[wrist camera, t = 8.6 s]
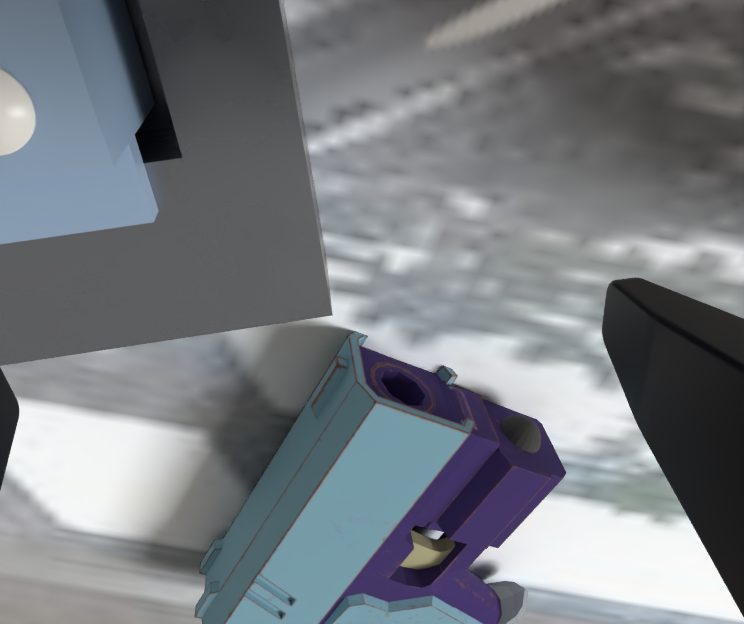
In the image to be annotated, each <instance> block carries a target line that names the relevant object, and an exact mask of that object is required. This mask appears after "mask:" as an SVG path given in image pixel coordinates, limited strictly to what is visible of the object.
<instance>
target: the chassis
mask: <svg viewBox="0 0 744 624" xmlns="http://www.w3.org/2000/svg"><path fill="white" fill-rule="evenodd" d="M125 2H126V6H127V9H128V13H129V16H130V20H131V23H132V27H133V30H134V34H135V37H136V40H137V44H138V47H139V51H140V54H141V58H142V61H143V65H144V68H145V72H146V75H147V79H148V82H149V85H150V89H151V92H152V96H153V99H154V103H155V105H154V106H153V108H152V109H151V111H150V112H149V114H148V115H147V117H146V118H145V120H144V121H143V123H142V124H141V126H140V127H139V129H138V130H137V132H136V133H135V138H136V141H137V144H138V147H139V150H140V154H141V157H142V160H143V163H144V166H145V169H146V173H147V176H148V179H149V182H150V185H151V188H152V192H153V195H154V198H155V201H156V204H157V208H158V213H157V216H156V218H155V221H154V222H152V223H145V224H138V225H131V226H124V227H117V228H111V229H104V230H97V231H90V232H83V233H76V234H69V235H62V236H55V237H48V238H41V239H34V240H27V241H20V242H13V243H6V244H0V366H1V365H8V364H14V363H21V362H27V361H34V360H41V359H47V358H54V357H60V356H67V355H73V354H80V353H87V352H93V351H100V350H106V349H113V348H120V347H126V346H133V345H139V344H146V343H153V342H159V341H166V340H172V339H179V338H185V337H192V336H199V335H205V334H212V333H218V332H225V331H232V330H238V329H245V328H251V327H258V326H265V325H271V324H278V323H284V322H291V321H298V320H304V319H311V318H317V317H324V316H330V315H332V306H331V297H330V288H329V278H328V269H327V260H326V254H325V248H324V242H323V236H322V230H321V224H320V218H319V212H318V206H317V200H316V194H315V188H314V183H313V177H312V171H311V165H310V159H309V153H308V147H307V141H306V135H305V129H304V123H303V117H302V111H301V105H300V99H299V93H298V87H297V81H296V75H295V69H294V63H293V57H292V51H291V45H290V39H289V33H288V27H287V21H286V15H285V9H284V3H283V0H125Z"/></svg>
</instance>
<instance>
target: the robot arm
mask: <svg viewBox="0 0 744 624" xmlns="http://www.w3.org/2000/svg"><path fill="white" fill-rule="evenodd" d="M602 335H603V340H604V344H605V346H606V349H607V351H608V354H609V356H610V359H611V361H612V364H613V366H614V369H615V371H616V374H617V376H618V378H619V381H620V383H621V386H622V388H623V391H624V393H625V396H626V398H627V401H628V403H629V406H630V408H631V411H632V413H633V415H634V418H635V420H636V422H637V424H638V427H639V428H640V430H641V432H642V434H643V436H644V438H645V440H646V442H647V444H648V445H649V447H650V449H651V451H652V453H653V454H654V456H655V458H656V460H657V462H658V463H659V465H660V467H661V469H662V471H663V473H664V474H665V476H666V478H667V480H668V482H669V483H670V485H671V487H672V489H673V491H674V492H675V494H676V496H677V498H678V500H679V501H680V503H681V505H682V507H683V509H684V510H685V512H686V514H687V516H688V518H689V519H690V521H691V523H692V525H693V527H694V528H695V530H696V532H697V534H698V536H699V538H700V539H701V541H702V543H703V545H704V547H705V548H706V550H707V552H708V554H709V556H710V557H711V559H712V561H713V563H714V565H715V566H716V568H717V570H718V572H719V574H720V575H721V577H722V579H723V581H724V583H725V584H726V586H727V588H728V590H729V592H730V593H731V595H732V597H733V599H734V601H735V603H736V604H737V606H738V608H739V610H740V612H741V613H742V615H743V617H744V319H743V318H741V317H738V316H735V315H733V314H730V313H728V312H725V311H723V310H720V309H718V308H715V307H713V306H710V305H708V304H705V303H702V302H700V301H697V300H695V299H692V298H690V297H687V296H685V295H682V294H680V293H677V292H674V291H672V290H669V289H667V288H664V287H662V286H659V285H657V284H654V283H652V282H649V281H646V280H644V279H641V278H628V279H620V280H614V281H612V282H611V283H610V284H609V286H608V288H607V292H606V300H605V308H604V316H603V324H602ZM18 418H19V405H18V401H17V399H16V397H15V395H14V393H13V391H12V389H11V387H10V385H9V383H8V381H7V380H6V378H5V376H4V374H3V372H2V370H1V368H0V490H1V486H2V482H3V478H4V474H5V470H6V466H7V462H8V458H9V454H10V450H11V446H12V442H13V438H14V434H15V430H16V426H17V422H18Z"/></svg>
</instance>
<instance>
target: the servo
mask: <svg viewBox="0 0 744 624" xmlns="http://www.w3.org/2000/svg"><path fill="white" fill-rule="evenodd" d="M154 105H155V103H154V99H153V96H152V92H151V89H150V85H149V82H148V79H147V75H146V72H145V68H144V65H143V61H142V58H141V54H140V51H139V47H138V44H137V40H136V37H135V34H134V30H133V27H132V23H131V20H130V16H129V13H128V9H127V6H126V2H125V0H0V244H6V243H13V242H20V241H27V240H34V239H41V238H48V237H55V236H62V235H69V234H76V233H83V232H90V231H97V230H104V229H111V228H117V227H124V226H131V225H138V224H145V223H152V222H154V221H155V218H156V216H157V213H158V208H157V204H156V201H155V198H154V195H153V192H152V188H151V185H150V182H149V179H148V176H147V173H146V169H145V166H144V163H143V160H142V157H141V154H140V150H139V147H138V144H137V141H136V138H135V133H136V132H137V130H138V129H139V127H140V126H141V124H142V123H143V121H144V120H145V118H146V117H147V115H148V114H149V112H150V111H151V109H152V108H153V106H154Z"/></svg>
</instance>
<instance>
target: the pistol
mask: <svg viewBox="0 0 744 624" xmlns="http://www.w3.org/2000/svg"><path fill="white" fill-rule="evenodd" d="M367 337H368V336H366V335H364V334H361V333H359V332H354V333H352V334H350V335H349V336H348V337H347V339H346V341H345V342H344V344H343V345H342V347H341V349H340V350H339V352H338V354H337V355H336V357H335V358H334V360H333V361H332V363H331V365H330V366H329V368H328V369H327V371H326V373H325V374H324V376H323V378H322V379H321V381H320V382H319V384H318V386H317V387H316V389H315V390H314V392H313V394H312V395H311V397H310V399H309V400H308V402H307V404H306V405H305V407H304V409H303V410H302V412H301V413H300V415H299V417H298V418H297V420H296V422H295V423H294V425H293V426H292V428H291V430H290V431H289V433H288V434H287V436H286V438H285V439H284V441H283V443H282V444H281V446H280V447H279V449H278V451H277V452H276V454H275V455H274V457H273V459H272V460H271V462H270V464H269V465H268V467H267V468H266V470H265V472H264V473H263V475H262V477H261V478H260V480H259V481H258V483H257V485H256V486H255V488H254V489H253V491H252V493H251V494H250V496H249V498H248V499H247V501H246V502H245V504H244V506H243V507H242V509H241V510H240V512H239V514H238V515H237V517H236V519H235V520H234V522H233V523H232V525H231V527H230V528H229V530H228V532H227V533H226V535H225V536H224V538H223V539H218V540H214V542H213V544H212V545H211V547H210V548H209V550H208V552H207V553H206V555H205V557H204V558H203V560H202V562H201V563H200V572H199V573H200V574H205V575H206V580H205V590H204V594H203V595H202V597H201V598H200V600H199V601H198V603H197V605H196V608H195V617H197V618H202V624H513V623H514V622H516V621H517V620H518V619H519V618H520V617H521V615H522V614H523V612H524V611H525V609H526V605H527V597H528V591H527V590H526V589H524V588H523V587H521V586H520V585H518V584H517V583H515V582H509V581H502V582H495V583H489V584H486V583H484V582H483V581H482V580H481V579H479V578H478V577H477V576H476V575H474V574H473V573H472V572H470V571H469V570H468V569H467V568H468V567H469V566H470V565H471V564H472V563H473V562H474V561H475V559H476V558H477V557H478V556H479V555H480V554H481V553H482V552H483V551H484V550H485V549H487V548H488V547H489V546H492V547H496V548H499V547H500V546H501V544H502V543H503V542H504V541H505V540H506V539H507V538H508V537H509V536H510V535H511V534H512V533H513V532H514V530H515V529H516V528H517V527H518V526H519V525H520V524H521V523H522V522H523V521H524V520H525V519H526V518H527V516H528V515H529V514H530V513H531V512H532V511H533V510H534V509H535V508H536V507H537V506H538V505H539V504H540V502H541V501H542V500H543V499H544V498H545V497H546V496H547V495H548V494H549V493H550V492H551V491H552V490H553V488H554V487H555V486H556V485H557V484H558V483H559V482H560V481H561V480H562V479H563V477H564V476H565V474H566V471H565V469H564V467H563V465H562V463H561V461H560V459H559V457H558V455H557V453H556V451H555V449H554V447H553V445H552V443H551V441H550V439H549V437H548V435H547V433H546V431H545V429H544V427H543V425H542V424H541V423H540V422H539V421H538V420H537V419H534V418H531V417H529V416H526V415H523V414H521V413H518V412H515V411H513V410H510V409H508V408H505V407H502V406H500V405H497V404H494V403H492V402H489V401H486V400H484V399H481V396H480V395H478V394H475V393H473V392H470V391H467V390H465V389H462V388H458V387H455V386H451V385H452V383H453V382H454V381H455V379H456V378H457V377H458V375H457V374H456V373H455V372H454V371H453V370H452V369H451V368H448V367H446V366H442V368H441V369H440V370H439V372H438V373H437V374H434V373H432V372H429V371H426V370H423V369H421V368H418V367H415V366H412V365H410V364H407V363H404V362H401V361H399V360H396V359H393V358H391V357H388V356H385V355H383V354H380V353H378V352H375V351H372V350H370V349H367V348H364V347H362V345H363V343H364V342H365V340H366V339H367ZM415 525H416V526H420V527H424V526H425V527H426V528H428V529H433V530H437V531H442V532H444V533H443V534H442V535H441V537H440V538H439V539H438V540H436V539H431V538H428V537H426V536H424V535H421V534H419V533H417V532H414V531H412V528H413V527H414V526H415Z"/></svg>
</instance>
